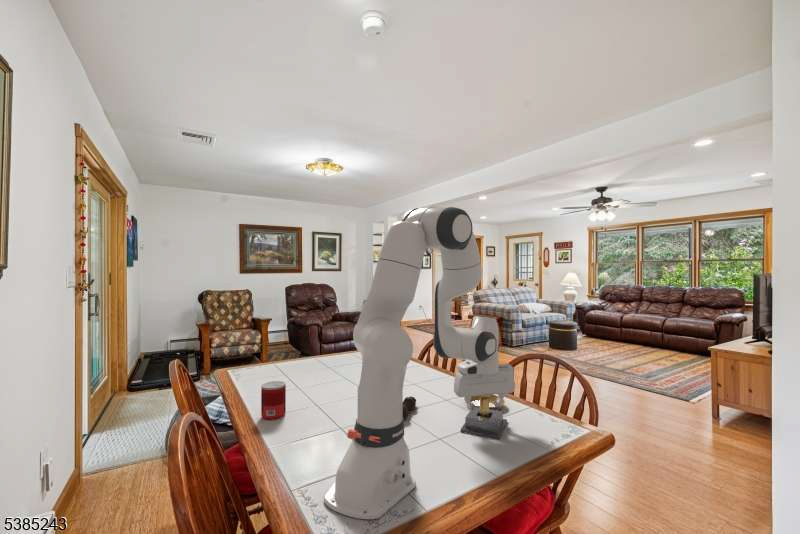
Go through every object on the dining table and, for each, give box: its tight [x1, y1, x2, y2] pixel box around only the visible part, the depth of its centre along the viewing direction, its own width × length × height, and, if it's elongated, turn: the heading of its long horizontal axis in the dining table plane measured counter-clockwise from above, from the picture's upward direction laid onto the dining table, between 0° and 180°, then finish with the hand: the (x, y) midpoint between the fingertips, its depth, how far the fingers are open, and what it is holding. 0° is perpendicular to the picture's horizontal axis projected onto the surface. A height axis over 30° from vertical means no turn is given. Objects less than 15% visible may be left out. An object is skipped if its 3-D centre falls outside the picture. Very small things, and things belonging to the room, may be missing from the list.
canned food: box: [260, 380, 287, 421], centre depth 127 cm, size 8×8×11 cm
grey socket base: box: [460, 407, 508, 441], centre depth 119 cm, size 14×12×4 cm
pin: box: [479, 394, 491, 418], centre depth 119 cm, size 4×4×11 cm
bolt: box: [402, 396, 417, 422], centre depth 130 cm, size 6×5×15 cm
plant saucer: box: [463, 394, 506, 411], centre depth 137 cm, size 15×15×3 cm
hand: (484, 407), depth 119 cm, fingers open, 8 cm apart
